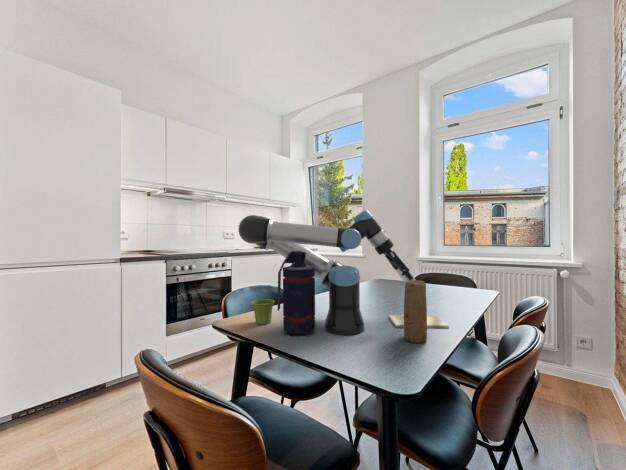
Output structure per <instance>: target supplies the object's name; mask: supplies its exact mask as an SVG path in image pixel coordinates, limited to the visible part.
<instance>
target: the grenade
mask: <svg viewBox="0 0 626 470" xmlns="http://www.w3.org/2000/svg"><path fill="white" fill-rule="evenodd" d="M305 257H306V252H301V251H291V252H289V254H288V255H287V257H286V258H284V260H283V262H282V264H281V266H280V268H279V270H278V272H277V308H276V309H277V311H278V312H279V311H280V310H281V296H282V316H283V319H282V321H283V323H282V324H283V325H282V327H283V328H282V329H283V331H285V334H286V335H287V336H289V337H290V336H292V335H305V336H310V335H312V332H313V331H315V329H316V317H315V316H316V287H315V286H316V281H315V280H316V278H315V277H316V276H315V268H314V267H311V266H307V265H306V263H305ZM285 264H291V265H289V266H285ZM281 277H282V278H281ZM281 280H282V281H281ZM281 286H282V287H281ZM281 288H282V291H281ZM281 293H282V295H281Z"/></svg>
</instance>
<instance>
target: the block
mask: <svg viewBox="0 0 626 470" xmlns="http://www.w3.org/2000/svg"><path fill="white" fill-rule="evenodd" d="M403 295H404V296H403V297H404V300H403V315H404V328H403V332H404V333H403V335H404V339H405V341H408V342H412V343H414V344H415V343H416V344H421V343H425V342H427V341H428V328H427V314H428V313H427V312H428V310H427V309H428V308H427V284H426V281H424V280H423V279H421V280H419V279H418V280H417V279H415V280H408V281H406V282H405V285H404V294H403Z"/></svg>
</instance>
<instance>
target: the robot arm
mask: <svg viewBox="0 0 626 470" xmlns="http://www.w3.org/2000/svg"><path fill="white" fill-rule="evenodd" d="M352 220H353V223H352V224H351V225H350V226H348V227H347V228H344V227H334V226H333V227H332V226H324V225H323V226H322V225H321V226H320V225H311V224H304V223H303V224H300V223H292V222H291V223H289V222H281V221H280V222H279V221H274V220H273V218H267V217H266V216H262V215H256V214H250V215H247V216H245V217H243V218H242V219H241V220H240V222H239V224H238V236H240V239H242V240H243V241H244V242H246V243H248V244H253V245H254V244H255V245H256V246H259V247H260V248H262V249H263V250H265V251H267V250H268V251H269V250H272V251H274V252H276V254H279V255H280V256H282V257H284V259H286V257H287V255H288V254H289V252H291V251H301V252H306V257H305V263H306V265H307V266H311V267H314V268H315V276H314V277H317V278H318V280H319V283H320V284H322V285H324V286H325V287H327V288H328V295H329V296H328V298H329V300H328V301H329V302H328V312H327V315H326V318H325V320H324V329H325V331H326V332H328V333H331V334H334V335H341V336H342V335H343V336H351V335H357V334H361V333H363V332H364V331H365V321H364V319H363V315H362V311H361V307H360V304H361V303H360V299H361V298H360V297H361V295H360V292H361V291H360V285H361V284H360V280H361V275H360V270H359V269H358V268H357V267H354V266H350V265H344V264H343V263H341V262H340V261H338V260H336V259H331V260H330V259H327V258H326V257H324V256H322V255H320V254H319V253H317V252H316V251H315V250H312V249H311V248H309V247H307V246H306V245H309V246H310V245H312V246H320V247H331V248H332V247H333V248H339V251H341V252H342V253H345V252H346V251H348V250H354V249H357V248H358V247H359V246H360V245H361V243H362V240H363V239H364V238H366V239H367V240H368V242H369V243H370V245H371V247H373V248H374V249H375V251H376V253H377V254H378V255H379V256H381V255H384V257H385V258H386V259H387V261H388V262H389V263H390V265H391V266H392V269H394V270H395V271H396V273H397V274H398V276H399V277H400V278H401V280H402V281H403V283H406V282H407V281H408V280H416V278H415V276H413V274H412V273H411V271H410V268H408V267H407V265H406V264H405V263H404V262H403V261H402V260H401V258H400V257H399V256H398V255H397V254H396V251H394V250H392V248H393V247H394V243H393V241H392V240H391V239H390V238H389V236H388V235H387V234H386V233H387V231H386V230H384V229H383V228H382V227H381V225H380V224H379V222H378V221H377V220H376V218H375V216H373V215H372V214H371V212H370V211H369V210H368V209H364V210H362V211H361V212H360V213H358V214H356V216H354V217H353V219H352Z"/></svg>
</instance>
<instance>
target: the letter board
mask: <svg viewBox="0 0 626 470" xmlns="http://www.w3.org/2000/svg"><path fill="white" fill-rule="evenodd" d="M388 318H389V319H390V321H391V323H392V324H393V325H394V327H395V328H403V329H404V314H401V315H399V314H389V315H388ZM449 328H450V325H449V324H448V323H446V321H444V320H442V319H441V318H440V317H439V316H437V315H432V314H431V315H430V314H429V315H427V329H449Z"/></svg>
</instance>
